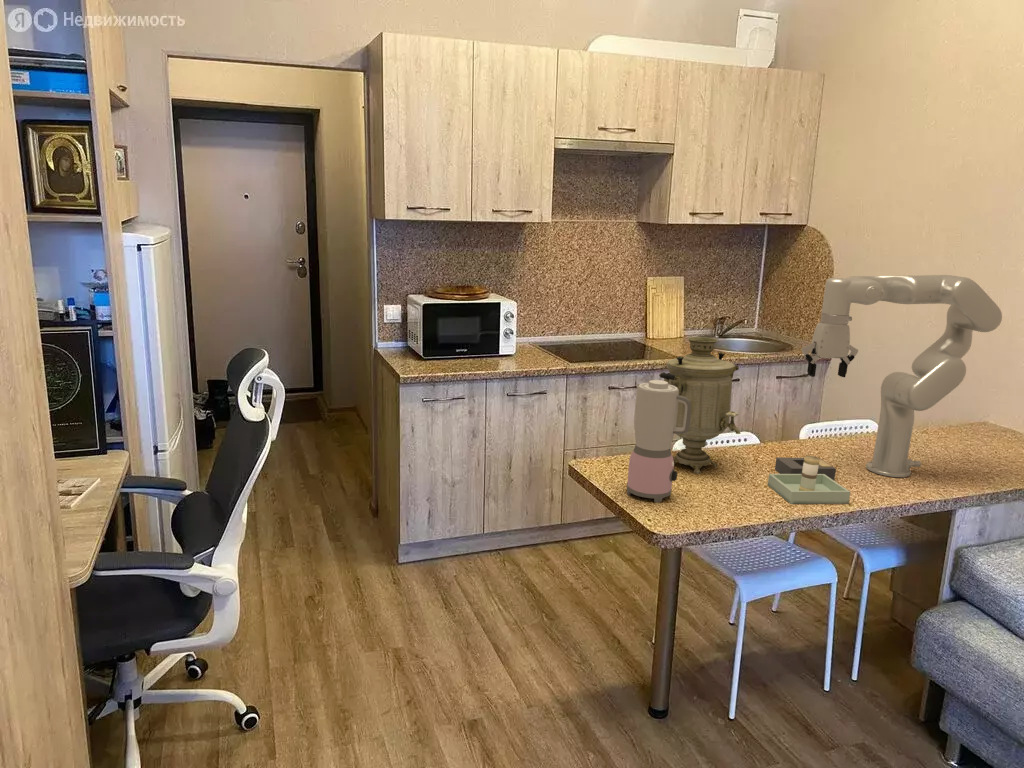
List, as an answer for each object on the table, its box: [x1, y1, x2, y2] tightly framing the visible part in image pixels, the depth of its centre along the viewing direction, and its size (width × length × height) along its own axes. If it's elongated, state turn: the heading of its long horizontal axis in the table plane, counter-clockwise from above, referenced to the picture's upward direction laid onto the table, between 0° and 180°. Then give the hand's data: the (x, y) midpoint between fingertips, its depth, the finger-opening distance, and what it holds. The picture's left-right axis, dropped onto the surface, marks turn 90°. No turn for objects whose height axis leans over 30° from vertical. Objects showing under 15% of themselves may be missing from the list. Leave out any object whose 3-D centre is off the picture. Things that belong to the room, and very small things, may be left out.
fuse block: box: [774, 456, 837, 481], centre depth 224 cm, size 14×10×4 cm
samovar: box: [658, 336, 741, 475], centre depth 222 cm, size 30×26×40 cm
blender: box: [626, 379, 691, 503], centre depth 200 cm, size 16×12×32 cm
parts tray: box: [767, 473, 851, 505], centre depth 209 cm, size 17×14×4 cm
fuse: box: [799, 455, 821, 491], centre depth 208 cm, size 4×4×10 cm
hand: (826, 376), depth 222 cm, fingers open, 9 cm apart
